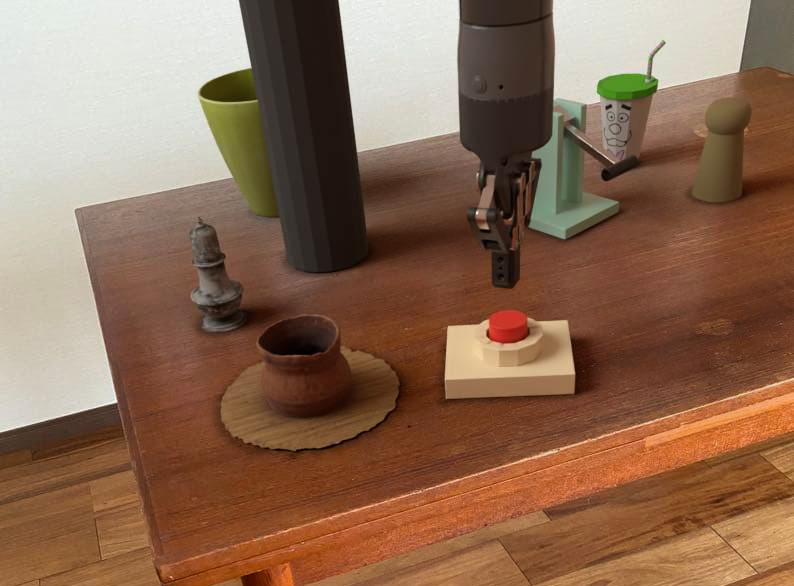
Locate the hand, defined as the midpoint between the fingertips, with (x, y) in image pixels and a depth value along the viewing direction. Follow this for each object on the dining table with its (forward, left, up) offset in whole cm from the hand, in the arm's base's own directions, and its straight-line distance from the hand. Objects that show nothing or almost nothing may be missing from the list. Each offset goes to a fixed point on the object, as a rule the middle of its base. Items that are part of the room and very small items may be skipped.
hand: (506, 284), depth 81 cm
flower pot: (+44, -31, -9) cm, 54 cm away
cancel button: (0, 0, -5) cm, 5 cm away
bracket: (+6, -36, -9) cm, 37 cm away
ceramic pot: (+17, +10, -9) cm, 22 cm away
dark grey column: (+30, -19, -9) cm, 36 cm away
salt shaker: (+34, -1, -9) cm, 35 cm away
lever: (+2, -34, -1) cm, 34 cm away
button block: (0, 0, -9) cm, 9 cm away
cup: (+2, -54, -9) cm, 55 cm away
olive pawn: (-12, -46, -9) cm, 48 cm away
